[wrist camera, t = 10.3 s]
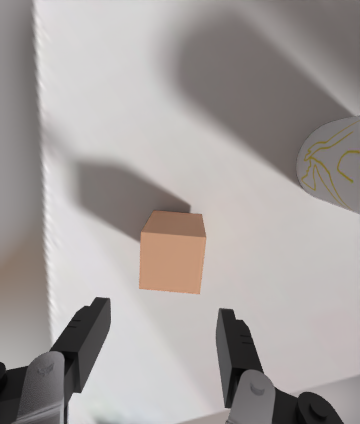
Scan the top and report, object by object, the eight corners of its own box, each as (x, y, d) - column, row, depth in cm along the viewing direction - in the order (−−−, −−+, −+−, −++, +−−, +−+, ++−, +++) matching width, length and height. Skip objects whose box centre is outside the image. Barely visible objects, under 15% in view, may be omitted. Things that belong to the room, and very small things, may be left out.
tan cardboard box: (201, 214, 24) (206, 237, 18) (197, 258, 25) (199, 294, 19) (153, 210, 24) (140, 232, 18) (151, 254, 25) (139, 288, 19)
